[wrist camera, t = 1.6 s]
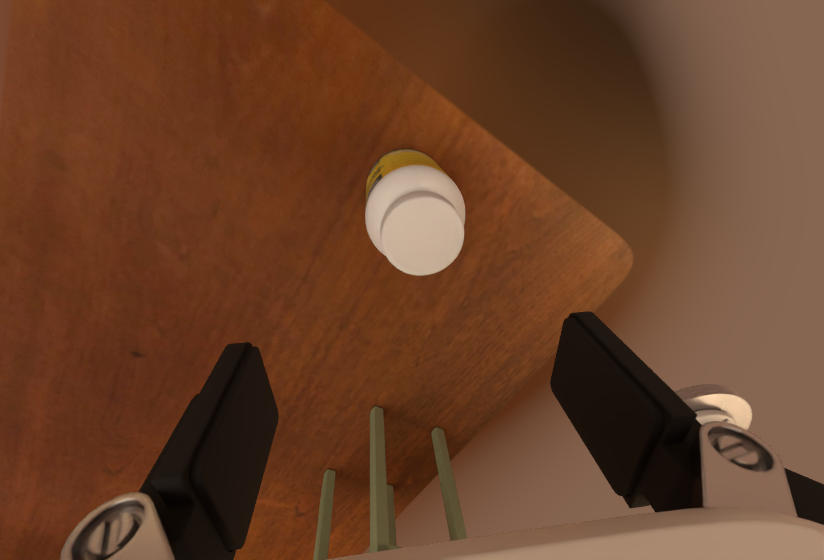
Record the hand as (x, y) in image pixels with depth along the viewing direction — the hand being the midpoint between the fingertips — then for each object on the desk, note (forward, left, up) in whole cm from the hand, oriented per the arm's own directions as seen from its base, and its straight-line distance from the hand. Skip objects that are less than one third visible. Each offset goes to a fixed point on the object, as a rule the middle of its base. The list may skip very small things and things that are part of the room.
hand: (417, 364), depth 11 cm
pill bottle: (-2, 0, -21) cm, 21 cm away
